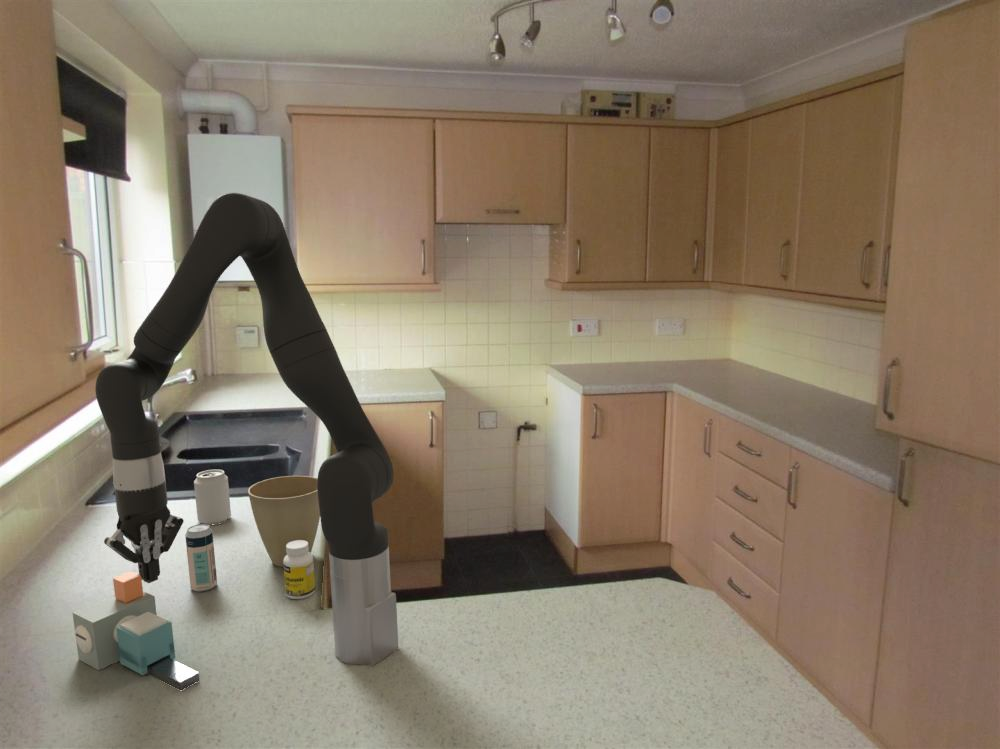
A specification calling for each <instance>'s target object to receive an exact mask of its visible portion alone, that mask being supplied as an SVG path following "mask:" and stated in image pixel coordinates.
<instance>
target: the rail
mask: <svg viewBox="0 0 1000 749" xmlns="http://www.w3.org/2000/svg"><path fill="white" fill-rule="evenodd" d="M147 672H148V674H147V675H149V676H150V675H151V677H152V676H153V677H152V678H154V677H155V679H156V678H157V680H158V679H159V680H158V681H160V680H161V681H160V682H162V681H163V682H162V683H164V682H165V683H164V684H166V683H167V684H169V685H171V686H173V687H175V688H177V689H179V690H183V689H184V688H187V687H188V686H190V685H192V684H194V683H195V682H198V681H200V674H199V671H197V670H195V669H193V668H191V667H188V666H187V665H185V664H183V663H180V662H178V661H176V660H175V659H171V658H169V657H167V656H165V657H163V658H161V659H160V660H158V661H156V662H154V663H152V664H150V665H148V666H147ZM198 683H199V682H198ZM167 684H166V685H167ZM169 685H168V686H169ZM194 685H195V684H194ZM171 686H170V687H171ZM173 687H172V688H173ZM175 688H174V689H175ZM177 689H176V690H177ZM187 689H188V688H187ZM179 690H178V691H179Z"/></svg>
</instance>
